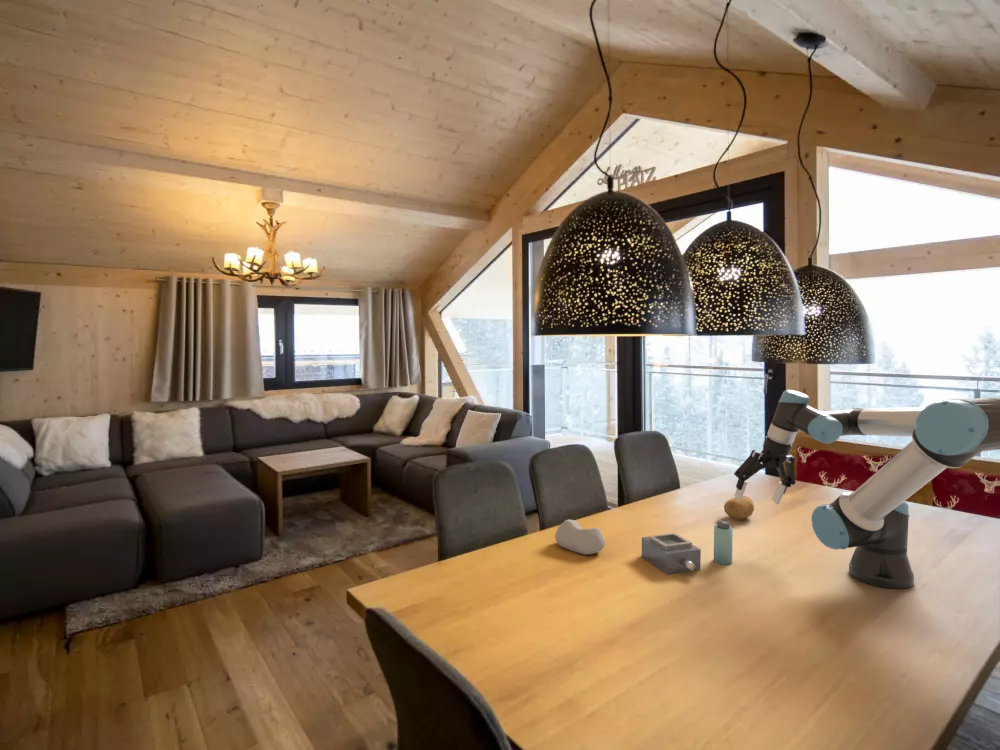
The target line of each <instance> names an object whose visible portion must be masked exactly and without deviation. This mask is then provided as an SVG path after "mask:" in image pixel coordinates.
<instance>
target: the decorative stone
mask: <svg viewBox="0 0 1000 750" xmlns="http://www.w3.org/2000/svg"><path fill="white" fill-rule="evenodd" d="M554 538H555V541H556V543H557V544H558V545H559V546H560V547H561V548H564V549H567V550H569V551H571V552H574V553H577V554H578V553H579V554H581V555H585V556H586V555H593V554H596V553H598V552H600V551H602V550H603V549H604V548H605V545H606V540H605V538H604V535H603V533H602V531H601V529H600V528H598V527H596V526H595V527H594V526H593V527H589V528H582V527H581V525H580V524H579V522H578V521H577V520H575V519H566V520H564V521H563V522H561V524H560V525H559V526H558V527H557V529H556V532H555V535H554Z"/></svg>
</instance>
